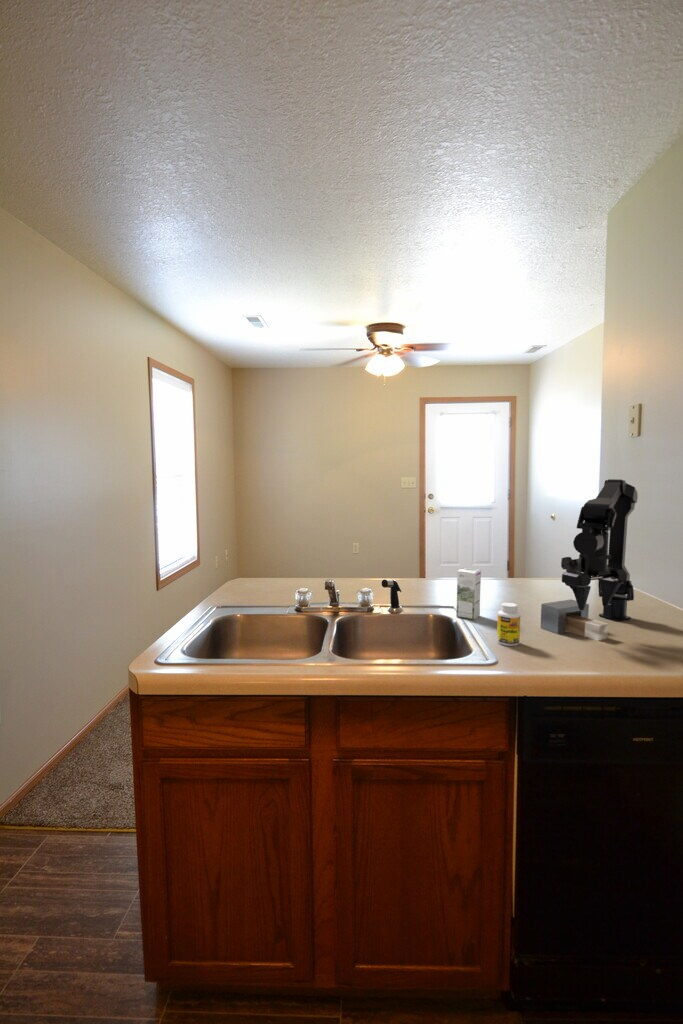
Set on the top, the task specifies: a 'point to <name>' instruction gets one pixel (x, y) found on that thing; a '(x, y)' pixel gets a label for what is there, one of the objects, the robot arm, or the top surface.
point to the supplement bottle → (508, 625)
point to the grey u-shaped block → (560, 614)
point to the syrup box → (468, 593)
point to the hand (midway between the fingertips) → (593, 608)
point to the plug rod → (586, 627)
